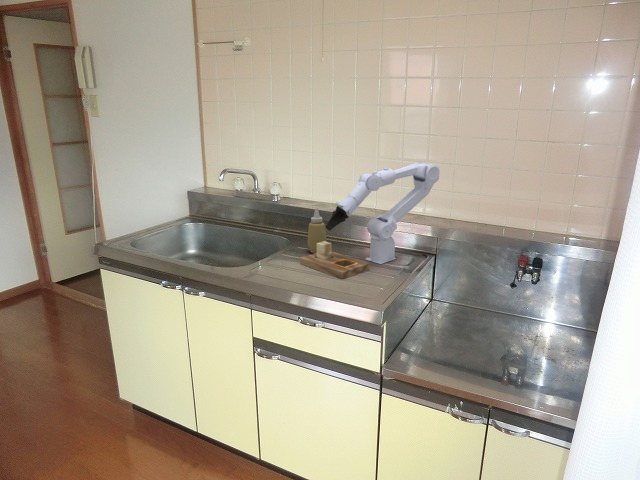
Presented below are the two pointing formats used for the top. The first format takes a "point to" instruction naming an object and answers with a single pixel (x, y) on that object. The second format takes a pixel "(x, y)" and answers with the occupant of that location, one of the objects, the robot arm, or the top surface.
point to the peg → (324, 250)
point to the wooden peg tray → (336, 265)
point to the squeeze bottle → (316, 232)
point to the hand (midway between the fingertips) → (328, 227)
